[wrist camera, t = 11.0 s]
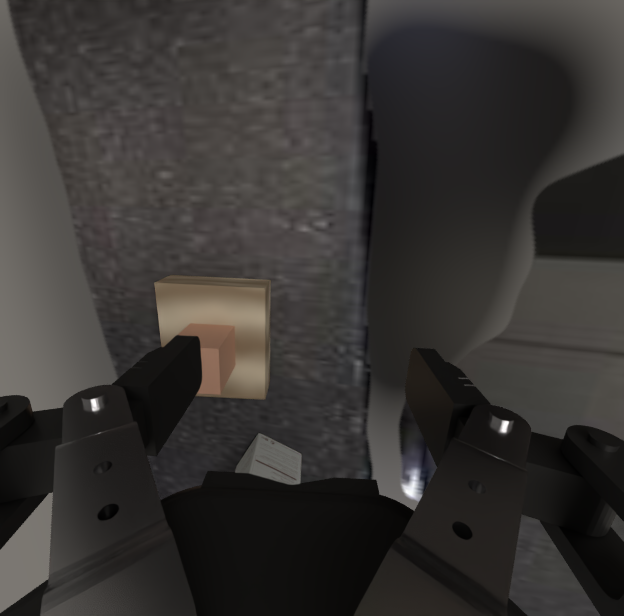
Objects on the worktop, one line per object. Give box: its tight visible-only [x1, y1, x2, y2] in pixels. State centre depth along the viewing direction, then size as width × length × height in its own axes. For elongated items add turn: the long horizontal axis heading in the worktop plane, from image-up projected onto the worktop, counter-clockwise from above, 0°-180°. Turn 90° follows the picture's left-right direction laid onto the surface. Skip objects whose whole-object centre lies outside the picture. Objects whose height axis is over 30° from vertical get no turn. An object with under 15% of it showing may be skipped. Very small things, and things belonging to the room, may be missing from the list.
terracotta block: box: [178, 323, 236, 395], centre depth 33 cm, size 5×5×6 cm
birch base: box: [154, 275, 271, 400], centre depth 38 cm, size 14×12×4 cm
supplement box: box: [235, 433, 302, 485], centre depth 40 cm, size 7×7×13 cm
